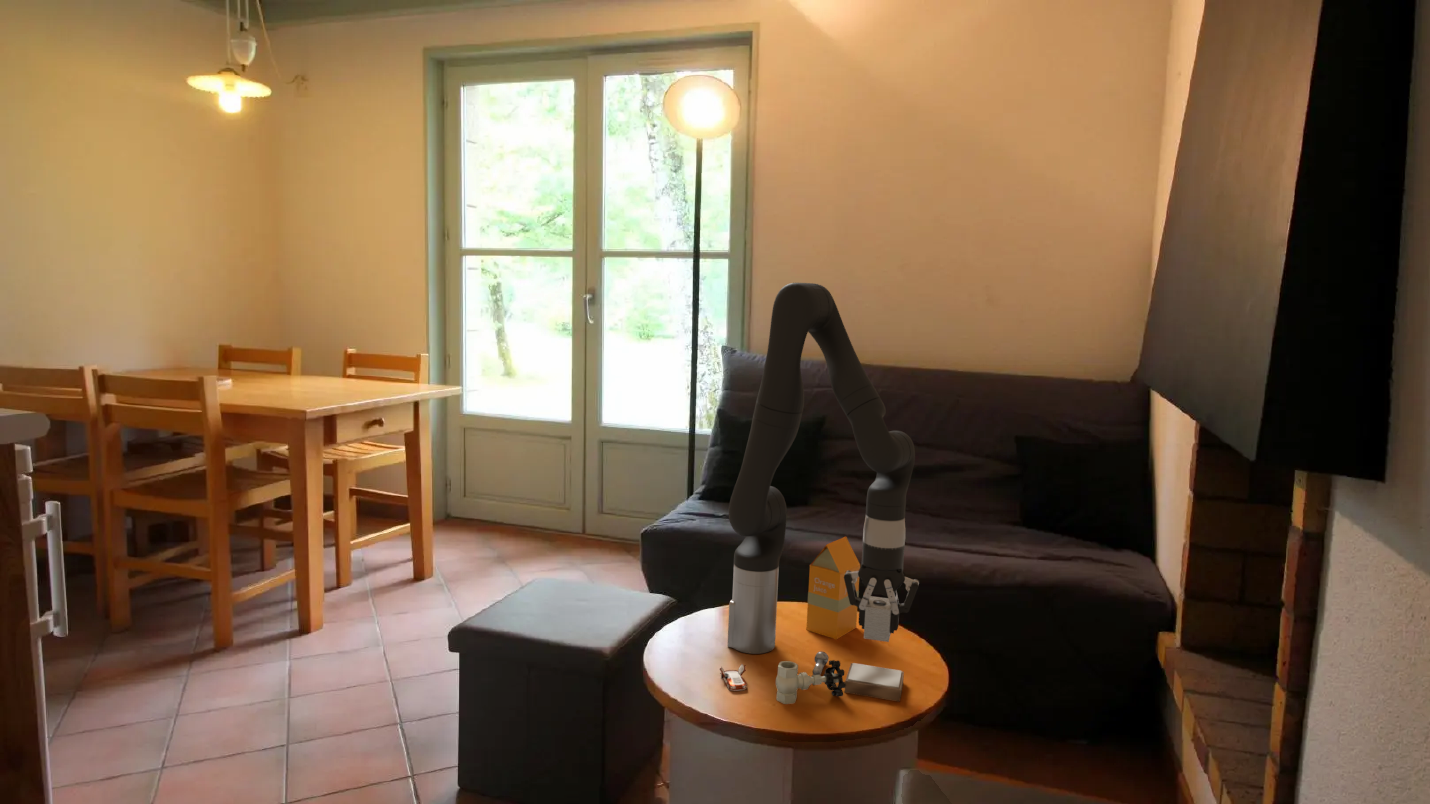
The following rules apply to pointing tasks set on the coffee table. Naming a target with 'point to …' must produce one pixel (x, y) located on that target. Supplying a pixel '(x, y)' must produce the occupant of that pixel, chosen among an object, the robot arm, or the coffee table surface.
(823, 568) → the orange juice
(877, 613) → the block
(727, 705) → the coffee table surface
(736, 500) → the robot arm
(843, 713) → the coffee table surface
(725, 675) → the toy car
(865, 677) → the stand
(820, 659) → the steel bolt
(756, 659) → the coffee table surface
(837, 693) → the valve
